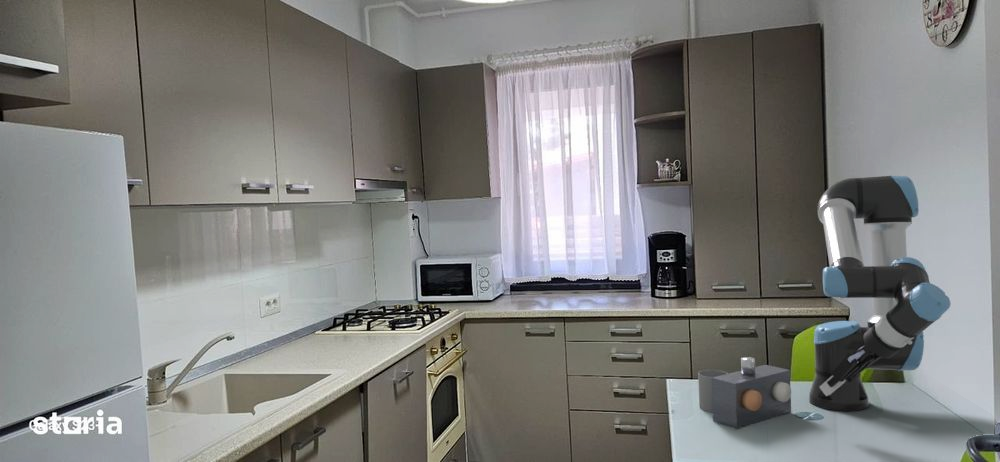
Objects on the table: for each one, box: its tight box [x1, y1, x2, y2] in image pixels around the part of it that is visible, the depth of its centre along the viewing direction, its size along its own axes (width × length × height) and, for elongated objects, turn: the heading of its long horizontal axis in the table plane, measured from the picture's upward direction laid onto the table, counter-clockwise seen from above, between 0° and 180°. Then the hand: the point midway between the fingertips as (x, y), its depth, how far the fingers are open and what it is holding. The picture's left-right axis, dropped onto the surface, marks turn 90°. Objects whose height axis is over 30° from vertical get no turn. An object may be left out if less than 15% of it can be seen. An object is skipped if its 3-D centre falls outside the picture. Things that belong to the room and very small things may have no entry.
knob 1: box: [742, 389, 762, 411], centre depth 175 cm, size 10×5×5 cm, turn 30°
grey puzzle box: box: [712, 364, 792, 430], centre depth 179 cm, size 8×22×12 cm, turn 120°
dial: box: [740, 356, 756, 375], centre depth 180 cm, size 4×4×4 cm
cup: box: [697, 369, 729, 413], centre depth 189 cm, size 8×8×10 cm
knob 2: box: [772, 382, 792, 402], centre depth 181 cm, size 10×5×5 cm, turn 30°
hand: (824, 390), depth 167 cm, fingers closed
